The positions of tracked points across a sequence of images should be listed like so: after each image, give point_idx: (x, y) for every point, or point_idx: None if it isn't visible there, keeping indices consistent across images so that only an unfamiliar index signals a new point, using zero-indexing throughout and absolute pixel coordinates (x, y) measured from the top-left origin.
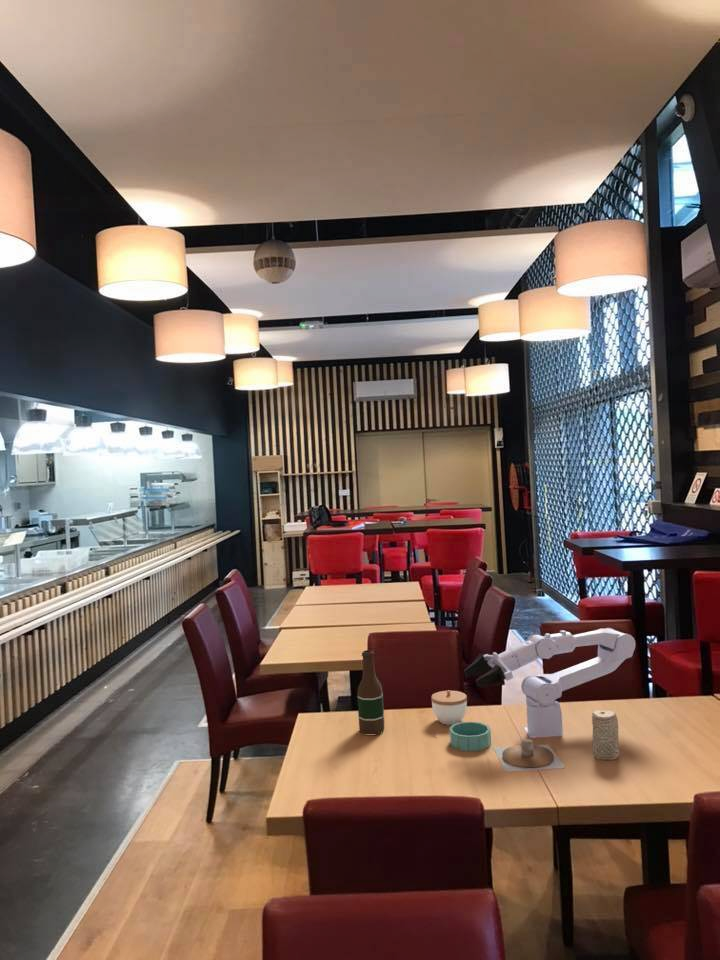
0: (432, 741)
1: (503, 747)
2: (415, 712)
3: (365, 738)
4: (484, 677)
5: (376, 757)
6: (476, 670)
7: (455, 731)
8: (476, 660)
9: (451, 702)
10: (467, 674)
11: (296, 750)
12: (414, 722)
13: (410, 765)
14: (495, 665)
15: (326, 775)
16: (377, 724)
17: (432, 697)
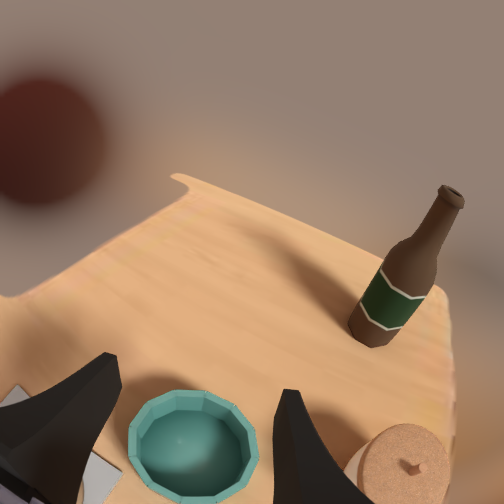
0: (267, 396)
1: (107, 491)
2: (436, 432)
3: (339, 307)
4: (71, 378)
5: (250, 281)
6: (279, 477)
7: (242, 434)
8: (324, 477)
9: (363, 463)
10: (277, 416)
11: (327, 234)
12: (388, 412)
13: (183, 299)
14: (12, 444)
15: (232, 220)
16: (357, 315)
17: (414, 425)
